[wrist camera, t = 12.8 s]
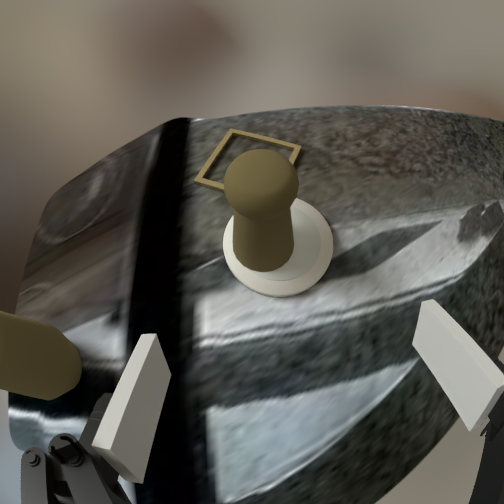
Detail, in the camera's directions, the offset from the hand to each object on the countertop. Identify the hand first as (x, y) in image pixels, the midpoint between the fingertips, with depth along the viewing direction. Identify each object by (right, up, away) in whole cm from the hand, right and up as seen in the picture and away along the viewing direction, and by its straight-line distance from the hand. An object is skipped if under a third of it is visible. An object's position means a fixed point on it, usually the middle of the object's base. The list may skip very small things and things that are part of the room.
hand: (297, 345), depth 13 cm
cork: (-1, +5, +15) cm, 16 cm away
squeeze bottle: (-23, -8, +12) cm, 27 cm away
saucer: (+1, +5, +16) cm, 17 cm away
